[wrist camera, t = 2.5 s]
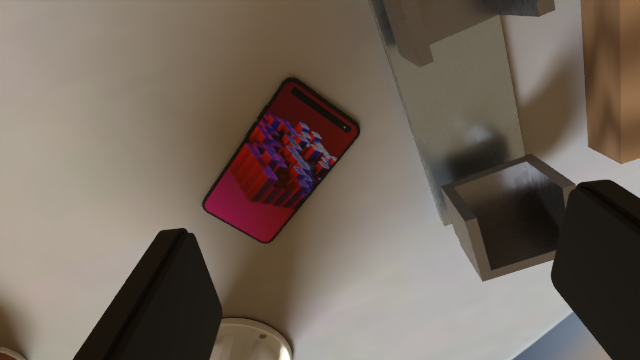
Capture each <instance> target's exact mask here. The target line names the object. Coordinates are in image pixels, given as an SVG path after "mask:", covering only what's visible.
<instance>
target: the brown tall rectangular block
mask: <svg viewBox="0 0 640 360" xmlns="http://www.w3.org/2000/svg"><path fill="white" fill-rule="evenodd" d="M581 17H582V36H583V55H584V74H585V92H586V111H587V130H588V147H590V148H592V149H593V150H595V151H597V152H599V153H601V154H603V155H605V156H607V157H609V158H611V159H612V160H614V161H616V162H618V163H620V164H623V163H626V162H629V161H632V160H636V159H639V158H640V0H581Z"/></svg>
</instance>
